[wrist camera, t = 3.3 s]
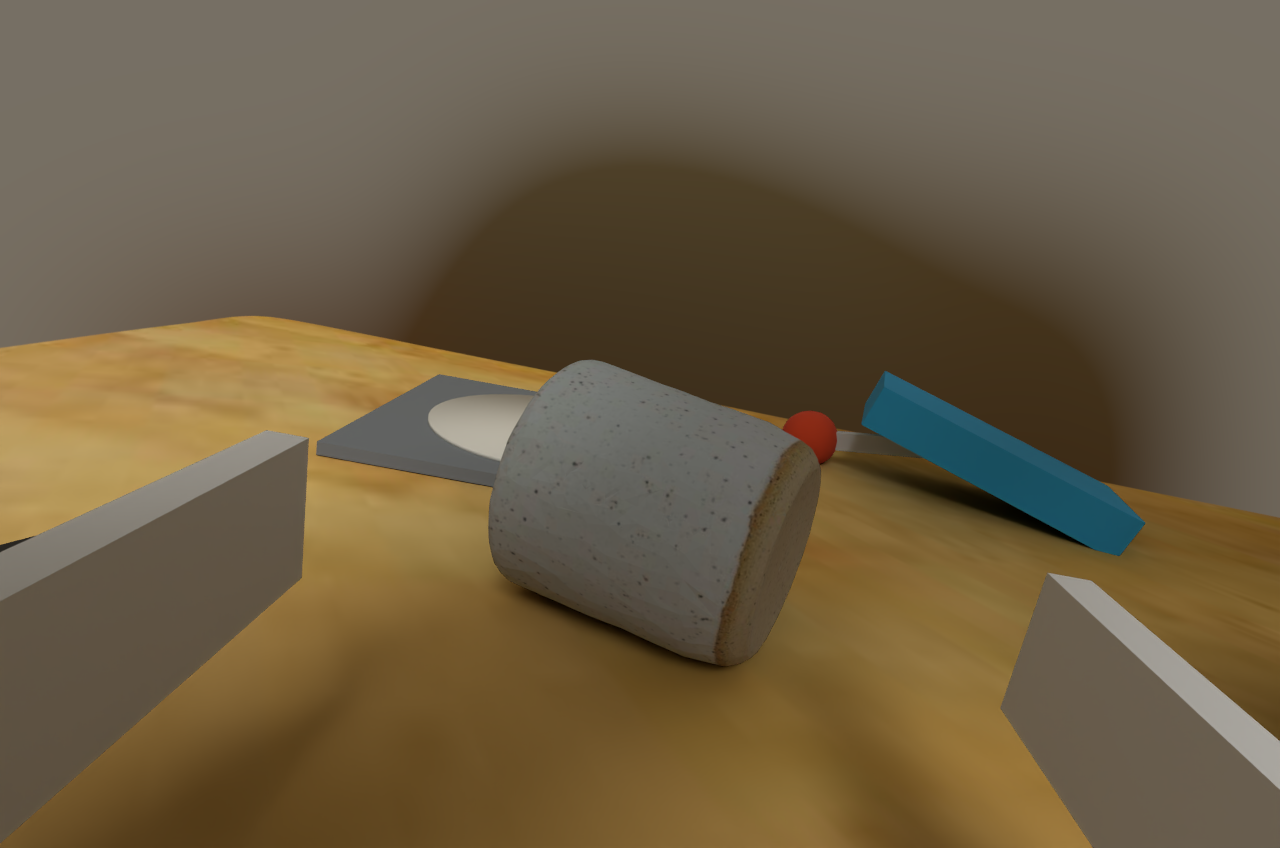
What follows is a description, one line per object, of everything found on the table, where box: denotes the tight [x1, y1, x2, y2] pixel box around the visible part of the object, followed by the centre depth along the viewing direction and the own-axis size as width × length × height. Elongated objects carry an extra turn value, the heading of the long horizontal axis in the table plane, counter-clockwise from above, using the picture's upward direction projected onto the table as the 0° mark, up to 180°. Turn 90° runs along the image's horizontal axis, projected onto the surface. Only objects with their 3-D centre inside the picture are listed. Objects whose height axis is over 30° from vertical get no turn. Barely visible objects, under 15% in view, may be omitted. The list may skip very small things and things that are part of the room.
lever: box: [783, 371, 1145, 556], centre depth 42 cm, size 7×7×18 cm
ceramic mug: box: [488, 360, 821, 666], centre depth 24 cm, size 11×8×8 cm
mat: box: [316, 374, 537, 487], centre depth 39 cm, size 18×16×1 cm
